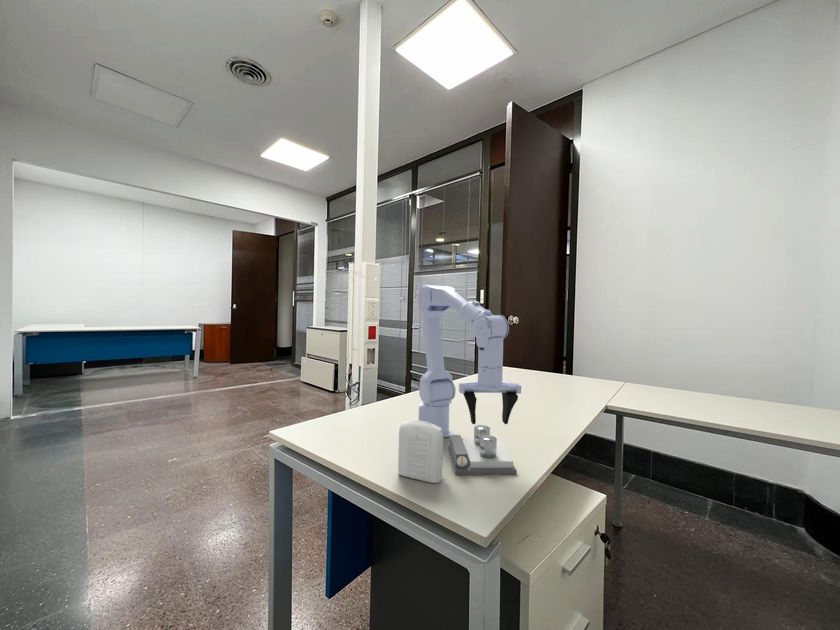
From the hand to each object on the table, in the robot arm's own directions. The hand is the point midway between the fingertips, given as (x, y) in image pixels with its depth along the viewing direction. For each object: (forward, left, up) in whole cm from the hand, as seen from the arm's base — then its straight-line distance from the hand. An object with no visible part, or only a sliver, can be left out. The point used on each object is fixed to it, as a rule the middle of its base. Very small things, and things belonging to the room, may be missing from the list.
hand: (489, 422), depth 78 cm
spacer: (0, 0, -8) cm, 8 cm away
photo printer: (-16, -5, -11) cm, 20 cm away
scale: (-1, +2, -10) cm, 11 cm away
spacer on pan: (0, +7, -8) cm, 10 cm away
